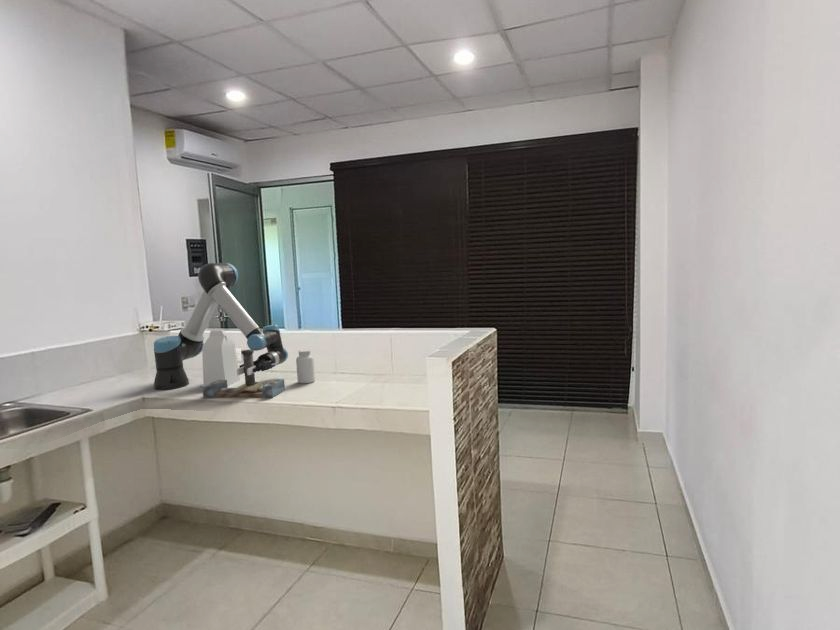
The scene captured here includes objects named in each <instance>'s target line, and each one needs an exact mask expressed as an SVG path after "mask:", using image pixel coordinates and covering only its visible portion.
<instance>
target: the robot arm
mask: <svg viewBox="0 0 840 630" xmlns="http://www.w3.org/2000/svg"><path fill="white" fill-rule="evenodd" d="M197 275H198V276H197V278H198V282H199V284H200V287H201V288H202V289H203V291H202V294H201V295H200V297H199V299H198V302H197V304H196V306H195V308H194V310H193V311H192V313H191V316H190V318H189V320H188V322H187V324H186V326H185V327H184V328H181V329H180V331H179V333H178V334H177V335H168V336H164V337H160V338H158V339H156V340H154V342H153V352H154V361H155V368H156V370H155V371H156V373H155V376H154V382H153V389H154V390H161V389H162V390H163V389H165V390H173V389H178V388H179V389H180V388H182V387H186V386H188V385H190V381H189V377H188V375H187V373H186V370H185V369H184V361H186V360H188V359H191V358H193V359H194V358H195V357H197V356H198V355H200V354H202V348H203V345H204V343H205V342H204V340H205V337H204V332H205V331H206V329H207V326H208V324H209V323H210V320H211V319H212V317H213V315H214V312H215V310H216V308H217V307H218V305H219V306H220V308H221V309H222V310H223V311H224V313H225V315H227V316H228V318H229V319H230V320H231V321H232V323H233V324H234V325H235V326H236V327H237V329H238V330H239V331H240V332H241V333H242V334H243V336H244V338H246V339H247V340H246V346H247V347H248V348H249V350H254V352H257V351H262V350H264V349H266V350H267V352H265V353H262V354H260V355H259V356H258V357H257V358H256V360H253V364H254V366H253V367H250V368H248V369H247V375H251V374H253V373H254V374H255V373H257V372H260V371H261V372H265V371H268V370H270V369H273V368H275V367H277V366H278V365H280V364H283V363H284V362H286V361H287V359H288V358H289V352H288V350H287V349H286V348H285V347H284V346H283V341H282V337H281V331H280V328H279V326H278V324H276V323H275V324H270V325H266V326H263V327H262V329H261V327H260V326H258V324H257V323H256V322H255V320H254V319H253V318H252V317H251V316H250V314H249V313H248V312H247V311H246V310H245V308H244V307H243V305H241V303H240V302H239V301H238V300H237V299H236V297H235V296H234V295H233V294H232V292H231V291H230V288H231V287H233V286H234V285H236V284H237V282H238V280H239V272H238V270H237V268H236V266H234V265H233V264H232V263H230V262H216V263H215V262H213V263H212V262H211V263H206V264H204V265H203V266H201V268H200V269H199V271H198V273H197ZM243 374H245V373H244V363H242V364H240V365H238V369H237V375H239V376H240V375H243Z"/></svg>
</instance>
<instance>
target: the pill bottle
mask: <svg viewBox="0 0 840 630" xmlns="http://www.w3.org/2000/svg"><path fill="white" fill-rule="evenodd" d="M295 362H296V364H295V365H296V376H297V377H296V378H297V383H298V384H311V383H314V382H315V381H316V379H315V378H316V377H315V366H314V365H315V363H314V362H315V361H314V357H313V355H311V350H310V349H300V350H298V356H297V357H296V360H295Z"/></svg>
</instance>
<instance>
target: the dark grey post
mask: <svg viewBox="0 0 840 630" xmlns="http://www.w3.org/2000/svg"><path fill="white" fill-rule="evenodd" d="M254 353H255V351H254V350H251V349H244V350H241V355H242V360H243V364H244V373H243V374H244V381H245V382H244V383H243V384H241V385H240V386H238V387H237V388H238V389H239V390H241V391H257V388H262V386H263V382H262V381H256V379H255V373H253V374H251V375H247V369H248V368H250V367H253V366H254V364H253V361H254Z"/></svg>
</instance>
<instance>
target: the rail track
mask: <svg viewBox="0 0 840 630" xmlns="http://www.w3.org/2000/svg"><path fill="white" fill-rule="evenodd" d="M285 384H286V383H285V379H284V378H283V379H281V378H280V379H279V378H277V379H272V380H271V381H269V382H267V383H266V384H264V385H262V386H261V388H257V391H241V390H239V389H238V387H229V386H227V380H216V381H214V382H212V383H210V384H207V385H205V386H204V385H203V386H202V396H203V399H213V398H262V399H273V397H274V398H275V397H276V396H278V395H280V394H282V393H283V392H284V391H286V387H285Z"/></svg>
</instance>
